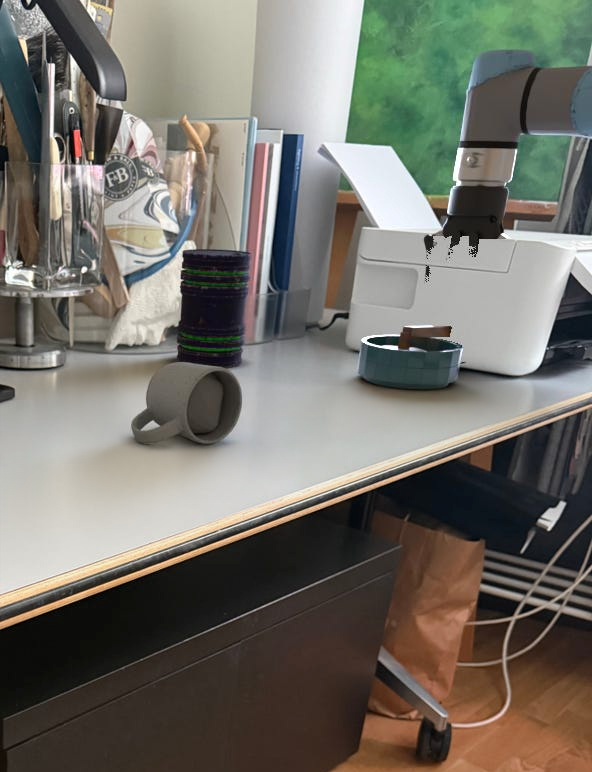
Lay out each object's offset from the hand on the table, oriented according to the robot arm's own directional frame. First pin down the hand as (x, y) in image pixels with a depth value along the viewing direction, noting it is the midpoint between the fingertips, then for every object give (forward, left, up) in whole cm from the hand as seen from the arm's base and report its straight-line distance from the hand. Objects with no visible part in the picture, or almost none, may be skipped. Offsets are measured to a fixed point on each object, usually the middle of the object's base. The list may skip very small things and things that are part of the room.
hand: (448, 361), depth 138 cm
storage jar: (+31, +16, -1) cm, 35 cm away
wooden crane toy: (+2, +7, 0) cm, 8 cm away
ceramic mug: (+17, +58, -1) cm, 61 cm away
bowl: (+3, +13, -1) cm, 14 cm away
